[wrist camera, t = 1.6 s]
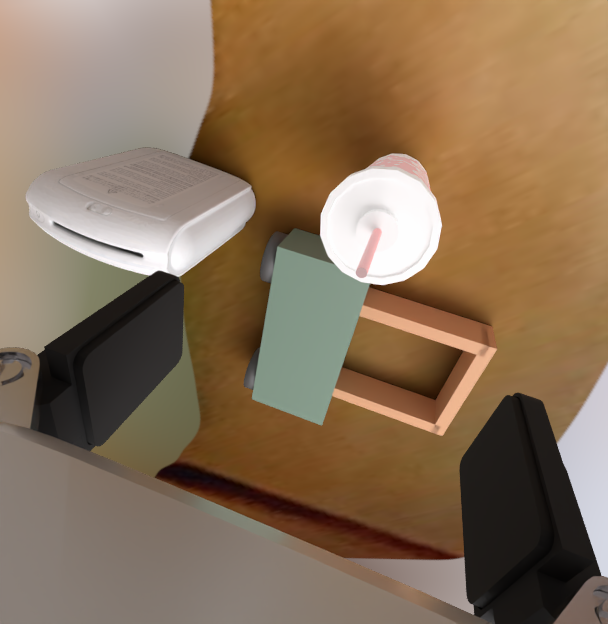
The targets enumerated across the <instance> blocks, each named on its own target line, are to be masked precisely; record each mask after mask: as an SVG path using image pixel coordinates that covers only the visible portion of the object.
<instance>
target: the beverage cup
mask: <svg viewBox="0 0 608 624" xmlns="http://www.w3.org/2000/svg"><path fill="white" fill-rule="evenodd" d="M441 227H442V223H441V218H440V214H439V210H438V205H437V201H436V198H435V196H434V195H433V194H432V192H431V191H430V185H429V181H428V177H427V173H426V170H425V169H424V168H423V166H422V165H421V164H420V163H419V161H418V160H416V159H414V158H412V157H410V156H408V155H406V154H393V153H392V154H389V155H387V156H384V157H381V158H379V159H378V160H376V161H375V162H374V163H373V164H371V165H370V166H369V167H367V168H366V169H364V170H361V171H358V172H356V173H353V174H351V175H350V176H348V177H347V178H346V179H345V180H344V181H343V182H342V183H341V184H340V185H338V186H337V187H336V188H335V189H334V190H333V191H332V192H331V193H330V195H329V197H328V199H327V202H326V204H325V206H324V208H323V210H322V213H321V228H320V237H321V239H322V242H323V245H324V247H325V250H326V253H327V255H328V257H329V258H330V259H331V260H332V261H333V262H334V264H335V265H336V266H337V267H338V268H339V269H340V270H341V271H342V272H343V273H345V274H347V275H349V276H351V277H352V278H354V279H356V280H358V281H360V282H364V283H371V284H378V285H386V284H390V283H395V282H400V281H404V280H406V279H408V278H409V277H411V276H412V275H414V274H415V273H417V272H419V271H420V270H422V269H423V268H424V267H425V266H426V264H427V263H428V261H429V260H430V259H431V257H432V256H433V254H434V253H435V251H436V250H437V247H438V242H439V237H440V232H441Z"/></svg>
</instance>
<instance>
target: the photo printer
mask: <svg viewBox="0 0 608 624" xmlns="http://www.w3.org/2000/svg"><path fill="white" fill-rule="evenodd" d="M251 187H252V186H251V185H250V184H249V183H247V182H245V181H243V180H242V179H240V178H238V177H235V176H233V175H231V174H228V173H226V172H223V171H221V170H218V169H215V168H213V167H210V166H207V165H205V164H202V163H199V162H196V161H194V160H191V159H188V158H185V157H182V156H179V155H177V154H174V153H171V152H168V151H164V150H161V149H157V148H148V147H145V148H139V149H135V150H131V151H127V152H123V153H119V154H115V155H110V156H106V157H102V158H98V159H94V160H90V161H86V162H82V163H77V164H73V165H69V166H65V167H61V168H56V169H53V170H49V171H47V172H44V173H43V174H41V175H40V176H39V177H37V178H36V180H34V181H33V183H32V184H31V185H30V187H29V189H28V191H27V193H26V200H27V202H28V204H29V215H30V217H31V219H32V220H33V221H34V222H35V223H36V224H37V225H38V226H39V227H40V228H41V229H43V230H44V231H45V232H46V233H48V234H49V235H51V236H52V237H54V238H55V239H56V240H58V241H60V242H61V243H63V244H65V245H67V246H68V247H70V248H72V249H74V250H76V251H78V252H80V253H83V254H85V255H87V256H89V257H92V258H94V259H97V260H99V261H102V262H105V263H107V264H110V265H113V266H116V267H119V268H122V269H126V270H129V271H133V272H137V273H141V274H146V275H152V274H153V273H154V272H156V271H158V270H159V271H163V272H166V273H169V274H172V275H175V276H177V277H179V276H181V275H183V274H184V273H185V272H187V271H188V270H189V269H191V268H192V267H194V266H195V265H196V264H198V263H199V262H200V261H201V260H203V259H204V258H205V257H207V256H208V255H209V254H211V253H212V252H213V251H215V250H216V249H217V248H219V247H220V246H221V245H223V244H224V243H225V242H226V241H228V240H229V239H230V238H232V237H233V236H234V235H236V234H237V233H238V232H239V231H241V230H242V229H243V228H244V227H245V223H246V222H247V221H248V220H249V219H250V218H251V217H252V216H253V214H254V211H255V206H256V201H255V196H254V193H253V191H252V190H251Z"/></svg>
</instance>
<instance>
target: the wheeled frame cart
mask: <svg viewBox="0 0 608 624" xmlns="http://www.w3.org/2000/svg"><path fill="white" fill-rule="evenodd" d="M260 277H261V280H262V281H265V282H268V283H271V287H270V293H269V299H268V305H267V311H266V317H265V323H264V329H263V335H262V341H261V347H259V348H258V349H257V350H256V351H255V353H254V354H253V356H252V358H251V360H250V363H249V365H248V368H247V371H246V374H245V378H244V387H247V388H249V389H252V390H253V394H252V399H253V400H256V401H258V402H261V403H263V404H266V405H269V406H271V407H274V408H277V409H279V410H282V411H285V412H287V413H290V414H293V415H295V416H298V417H301V418H303V419H306V420H309V421H311V422H314V423H316V424H319V425H322V424H323V421H324V418H325V415H326V412H327V409H328V406H329V403H330V400H331V397H332V396H334V397H336V398H339V399H342V400H345V401H347V402H350V403H353V404H356V405H358V406H361V407H364V408H366V409H369V410H372V411H375V412H377V413H380V414H383V415H386V416H388V417H391V418H394V419H397V420H399V421H402V422H405V423H408V424H410V425H413V426H416V427H419V428H421V429H424V430H427V431H429V432H432V433H435V434H438V435H440V436H442V435H443V434H444V432H445V431H446V429H447V428H448V426H449V424H450V423H451V421H452V420H453V418H454V416H455V415H456V413H457V412H458V410H459V409H460V407H461V405H462V404H463V402H464V401H465V399H466V397H467V396H468V394H469V393H470V391H471V390H472V388H473V386H474V385H475V383H476V382H477V380H478V378H479V377H480V375H481V374H482V372H483V371H484V369H485V367H486V366H487V364H488V363H489V361H490V359H491V358H492V356H493V355H494V353H495V352H496V350H497V346H496V342H495V337H494V332H493V327H492V326H489V325H486V324H483V323H480V322H476V321H473V320H470V319H467V318H464V317H461V316H458V315H455V314H451V313H448V312H445V311H442V310H439V309H436V308H433V307H430V306H427V305H423V304H420V303H417V302H414V301H411V300H408V299H405V298H402V297H398V296H395V295H392V294H389V293H386V292H383V291H380V290H377V289H373V288H370V287H369V285H370V283H364V282H360V281H358V280H356V279H354V278H352V277H351V276H349V275H347V274H345V273H343V272H342V271H341V270H340V269H339V268H338V267H337V266H336V265H335V264H334V262H333V261H332V260H331V259H330V258H329V257H328V255H327V253H326V250H325V247H324V245H323V242H322V239H321V237H320V236H319V235H316V234H313V233H309V232H306V231H303V230H300V229H296V228H294V229H293V230H292V231H291V232H290V234H289V235H288V234H284V233H281V232H278V231H276V232H275V233H274V234H273V235H272V236H271V238H270V240H269V242H268V244H267V246H266V249H265V252H264V255H263V258H262V263H261V269H260ZM359 316H362V317H365V318H368V319H371V320H374V321H377V322H380V323H383V324H386V325H389V326H392V327H395V328H398V329H401V330H404V331H407V332H410V333H413V334H416V335H419V336H422V337H425V338H428V339H431V340H434V341H437V342H440V343H443V344H446V345H449V346H452V347H455V348H458V349H461V350H464V351H463V352H462V354H461V356H460V358H459V360H458V361H457V363H456V365H455V367H454V368H453V370H452V372H451V374H450V375H449V377H448V379H447V381H446V382H445V384H444V386H443V388H442V389H441V391H440V393H439V395H438V396H437V398H436V400H434V399H431V398H428V397H425V396H422V395H419V394H417V393H414V392H411V391H408V390H405V389H402V388H400V387H397V386H394V385H391V384H388V383H385V382H383V381H380V380H377V379H374V378H371V377H368V376H366V375H363V374H360V373H357V372H354V371H351V370H349V369H346V368H343V367H342V365H343V362H344V359H345V356H346V353H347V350H348V347H349V344H350V341H351V338H352V335H353V332H354V330H355V327H356V324H357V321H358V318H359Z"/></svg>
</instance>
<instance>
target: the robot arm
mask: <svg viewBox="0 0 608 624" xmlns="http://www.w3.org/2000/svg"><path fill="white" fill-rule="evenodd" d="M183 306H184V285H183V284H182V283H180V280H179V277H177V276H175V275H172V274H169V273H166V272H163V271H159V270H158V271H156V272H154V273H153V274H152V275H150V276H149V277H147V278H146V279H144V280H143V281H141V282H140V283H138V284H137V285H135V286H134V287H132V288H131V289H129V290H128V291H126V292H125V293H123V294H122V295H120V296H119V297H117V298H116V299H114V300H113V301H112V302H110V303H109V304H107V305H106V306H104V307H103V308H101V309H100V310H98V311H97V312H95V313H94V314H92V315H91V316H89V317H88V318H86V319H85V320H83V321H82V322H81V323H79V324H77V325H76V326H74V327H73V328H72V329H70V330H69V331H67V332H66V333H64V334H63V335H61V336H60V337H58V338H57V339H55V340H54V341H52V342H51V343H50V344H48V345H46V346H45V347H44V348H45V350H44V351H42V352H41V353H39V354H38V355H36V354H35V353H34V352H32V351H30V350H28V349H24V348H17V347H7V348H1V349H0V624H608V578H607V577H604V576H601V573H600V570H599V567H598V564H597V560H596V557H595V554H594V551H593V548H592V545H591V542H590V539H589V537H588V533H587V530H586V527H585V524H584V521H583V518H582V515H581V512H580V509H579V506H578V503H577V500H576V497H575V494H574V491H573V488H572V485H571V482H570V479H569V476H568V473H567V470H566V468H565V466H564V464H563V461H562V458H561V455H560V452H559V450H558V446H557V443H556V440H555V437H554V434H553V431H552V428H551V425H550V422H549V419H548V416H547V413H546V410H545V407H544V404H543V402H542V401H541V400H539V399H536V398H533V397H530V396H527V395H524V394H521V393H515V394H514V395H513V396H510V395H507V396H505V397H504V399H503V400H502V401H501V403H500V404H499V406H498V407H497V409H496V410H495V411H494V413H493V414H492V416H491V417H490V419H489V420H488V421H487V423H486V424H485V426H484V427H483V429H482V430H481V431H480V433H479V434H478V436H477V437H476V439H475V440H474V441H473V443H472V444H471V446H470V447H469V448H468V450H467V451H466V453H465V454H464V456H463V457H462V460H461V463H460V486H461V504H462V521H463V539H464V557H465V574H466V592H467V599H468V601H469V602H470V603H471V604H473V605H474V615H472V614H470V613H468V612H466V611H463V610H461V609H459V608H457V607H455V606H452V605H450V604H448V603H446V602H443V601H441V600H439V599H437V598H434V597H432V596H430V595H428V594H425V593H423V592H421V591H419V590H416V589H414V588H412V587H410V586H407V585H405V584H402V583H400V582H398V581H396V580H393V579H391V578H389V577H386V576H384V575H382V574H379V573H377V572H375V571H372V570H370V569H367V568H365V567H363V566H361V565H358V564H356V563H354V562H351V561H349V560H347V559H344V558H342V557H340V556H337V555H335V554H333V553H330V552H328V551H326V550H324V549H321V548H319V547H317V546H314V545H312V544H309V543H307V542H305V541H302V540H300V539H298V538H295V537H293V536H291V535H288V534H286V533H284V532H281V531H279V530H277V529H274V528H272V527H270V526H267V525H265V524H262V523H260V522H258V521H255V520H253V519H251V518H248V517H246V516H244V515H241V514H239V513H236V512H234V511H232V510H229V509H227V508H225V507H222V506H220V505H218V504H215V503H213V502H210V501H208V500H206V499H203V498H201V497H199V496H196V495H194V494H192V493H189V492H187V491H184V490H182V489H180V488H177V487H175V486H172V485H170V484H168V483H165V482H163V481H160V480H158V479H156V478H153V477H151V476H148V475H146V474H144V473H141V472H139V471H136V470H134V469H131V468H129V467H127V466H124V465H122V464H120V463H117V462H115V461H112V460H110V459H108V458H105V457H103V456H100V455H98V454H95V453H93V452H90V451H91V450H92V449H93V448H94V447H95V446H101V445H103V444H104V443H105V442H106V440H108V438H109V437H110V436H111V435H112V434H113V433H114V432H115V431H116V429H118V428H119V426H120V425H121V424H122V423H123V422H124V421H125V420H126V419H127V418H128V417H129V416H130V415H131V413H132V412H133V411H134V410H135V409H136V408H137V407H138V406H139V405H140V404H141V403H142V402H143V400H144V399H145V398H146V397H147V396H148V395H149V394H150V393H151V392H152V391H153V390H154V389H155V387H156V386H157V385H158V384H159V383H160V382H161V381H162V380H163V379H164V378H165V377H166V375H167V374H168V373H169V372H170V371H171V370H172V369H173V368H174V367H175V366H176V365H177V363H178V362H179V360H180V358H181V356H182V344H183V343H182V342H183Z"/></svg>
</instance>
